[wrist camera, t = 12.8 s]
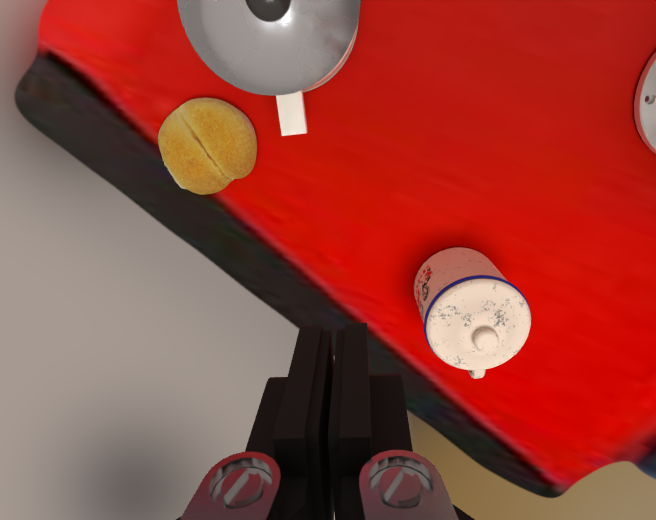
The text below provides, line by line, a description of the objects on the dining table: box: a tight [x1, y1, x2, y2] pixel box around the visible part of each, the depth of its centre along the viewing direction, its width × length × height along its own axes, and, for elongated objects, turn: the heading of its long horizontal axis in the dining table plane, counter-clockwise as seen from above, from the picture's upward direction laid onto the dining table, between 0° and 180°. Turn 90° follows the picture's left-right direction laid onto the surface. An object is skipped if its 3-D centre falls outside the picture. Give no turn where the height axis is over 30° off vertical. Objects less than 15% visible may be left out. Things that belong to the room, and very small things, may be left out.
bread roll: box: [158, 98, 257, 195], centre depth 41 cm, size 8×9×4 cm
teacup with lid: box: [414, 247, 531, 379], centre depth 42 cm, size 12×9×12 cm
